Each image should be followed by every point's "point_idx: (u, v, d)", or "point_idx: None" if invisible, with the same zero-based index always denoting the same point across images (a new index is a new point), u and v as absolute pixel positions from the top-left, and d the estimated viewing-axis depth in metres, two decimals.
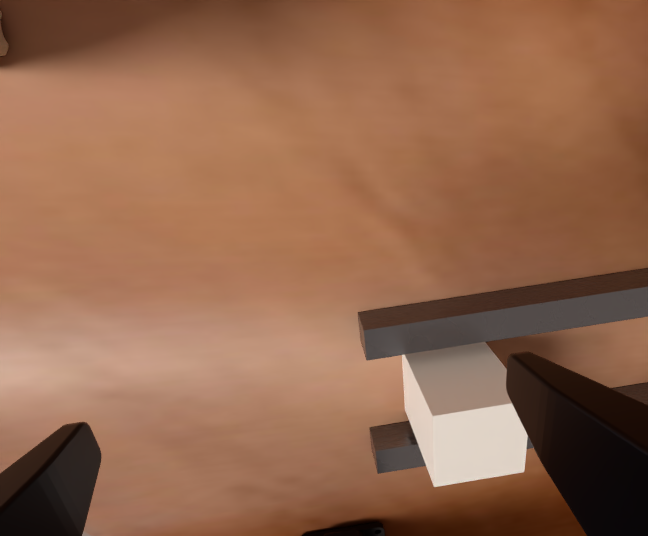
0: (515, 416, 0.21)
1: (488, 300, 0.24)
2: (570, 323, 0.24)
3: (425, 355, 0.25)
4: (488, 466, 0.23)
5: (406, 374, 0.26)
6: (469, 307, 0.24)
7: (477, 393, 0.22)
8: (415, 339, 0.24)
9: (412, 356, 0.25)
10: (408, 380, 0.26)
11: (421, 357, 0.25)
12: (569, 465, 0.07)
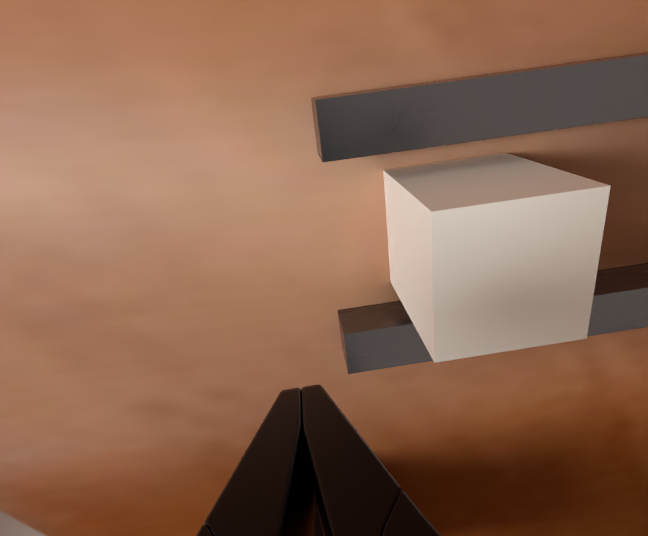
0: (580, 220, 0.12)
1: (523, 70, 0.15)
2: None
3: (420, 171, 0.16)
4: (527, 324, 0.13)
5: (390, 208, 0.17)
6: (492, 75, 0.15)
7: (510, 188, 0.13)
8: (403, 123, 0.14)
9: (399, 174, 0.16)
10: (393, 214, 0.16)
11: (414, 173, 0.16)
12: (319, 507, 0.07)
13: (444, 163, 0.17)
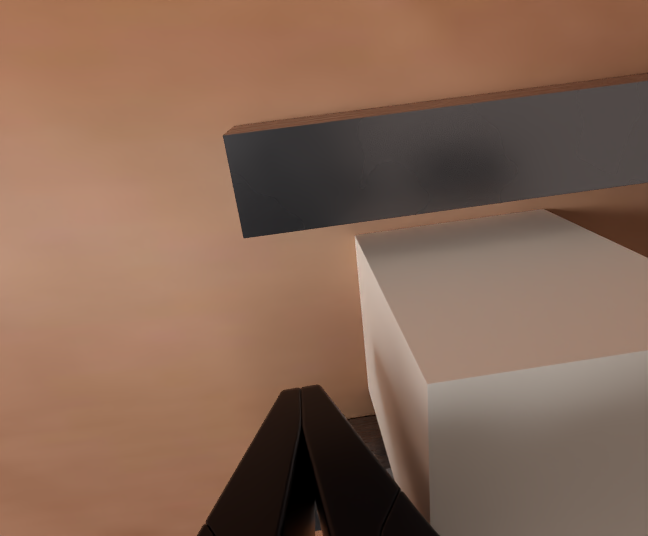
0: None
1: (580, 84, 0.09)
2: None
3: (411, 243, 0.10)
4: None
5: (365, 297, 0.11)
6: (532, 92, 0.09)
7: (578, 313, 0.07)
8: (380, 175, 0.08)
9: (378, 247, 0.10)
10: (368, 309, 0.10)
11: (401, 247, 0.10)
12: (318, 507, 0.07)
13: (449, 227, 0.11)
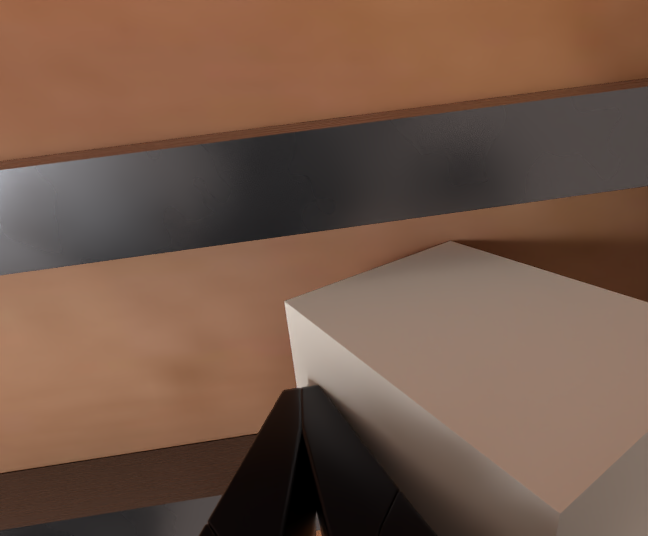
0: None
1: (46, 158, 0.09)
2: (266, 222, 0.09)
3: (361, 303, 0.09)
4: None
5: (314, 375, 0.09)
6: None
7: (598, 360, 0.06)
8: None
9: (327, 313, 0.08)
10: (326, 390, 0.08)
11: (353, 309, 0.08)
12: (316, 507, 0.07)
13: (383, 274, 0.10)
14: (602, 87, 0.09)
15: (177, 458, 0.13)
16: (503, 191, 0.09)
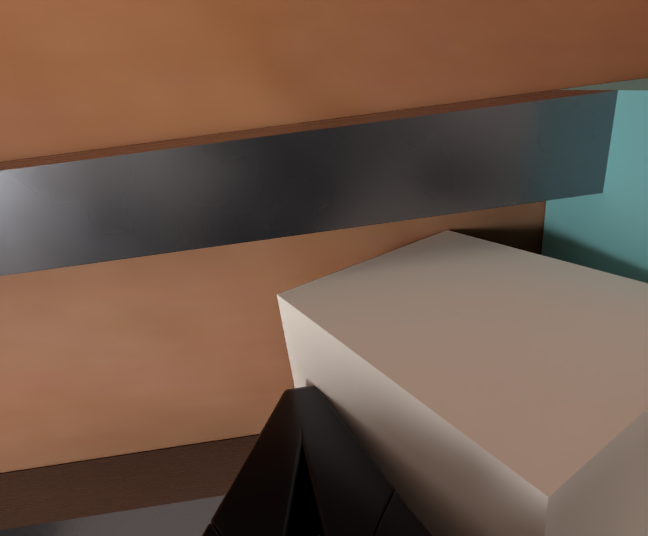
0: None
1: None
2: None
3: (354, 293, 0.08)
4: None
5: (308, 368, 0.09)
6: None
7: (594, 342, 0.06)
8: None
9: (318, 305, 0.08)
10: (320, 383, 0.08)
11: (346, 300, 0.08)
12: (313, 508, 0.07)
13: (377, 265, 0.10)
14: (275, 129, 0.09)
15: None
16: (158, 239, 0.09)
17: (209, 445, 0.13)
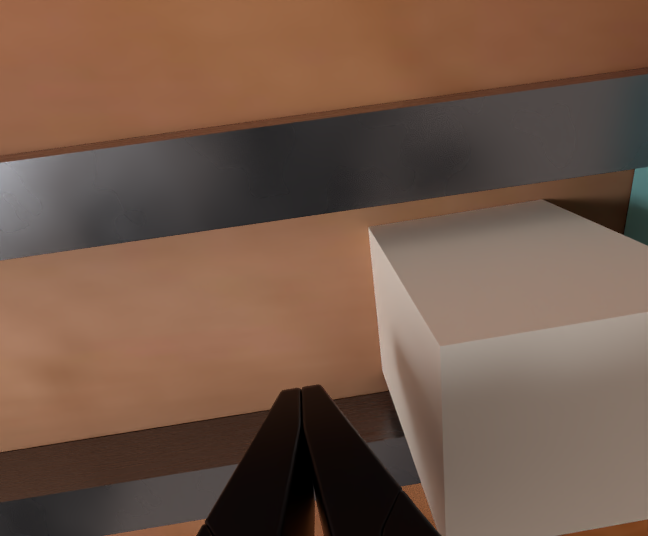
0: None
1: None
2: (81, 233, 0.09)
3: (420, 233, 0.11)
4: (596, 499, 0.08)
5: (379, 283, 0.12)
6: None
7: (570, 287, 0.07)
8: None
9: (390, 236, 0.11)
10: (382, 294, 0.11)
11: (411, 236, 0.11)
12: (318, 507, 0.07)
13: (455, 217, 0.12)
14: (407, 103, 0.10)
15: (57, 454, 0.13)
16: (307, 202, 0.09)
17: None
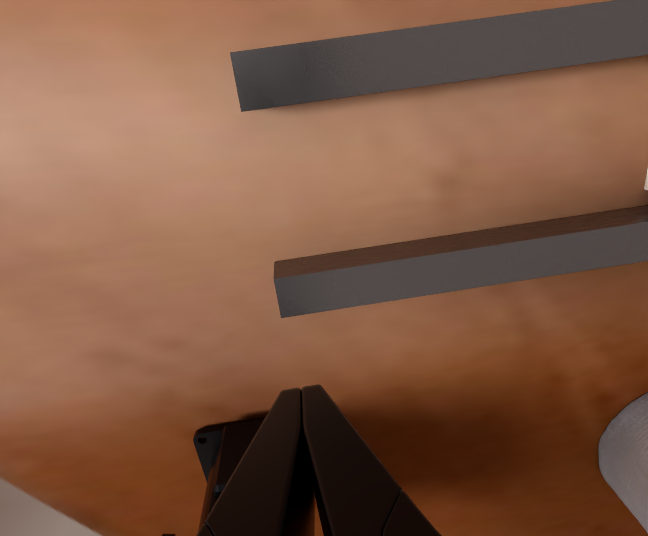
0: None
1: None
2: (548, 59, 0.16)
3: None
4: None
5: None
6: None
7: None
8: (313, 75, 0.16)
9: None
10: None
11: None
12: (318, 507, 0.07)
13: None
14: None
15: (436, 240, 0.20)
16: None
17: (593, 214, 0.21)
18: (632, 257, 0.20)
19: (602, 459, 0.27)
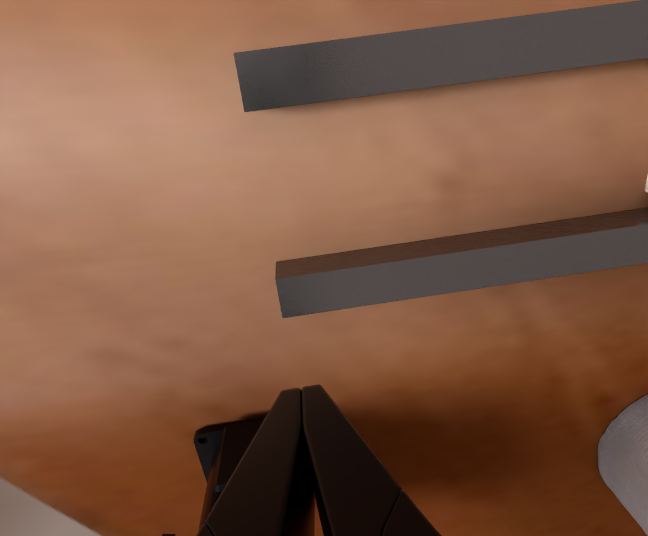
0: None
1: None
2: (550, 61, 0.16)
3: None
4: None
5: None
6: None
7: None
8: (316, 76, 0.16)
9: None
10: None
11: None
12: (318, 507, 0.07)
13: None
14: None
15: (437, 242, 0.20)
16: None
17: (593, 216, 0.21)
18: (633, 259, 0.20)
19: (601, 461, 0.27)
